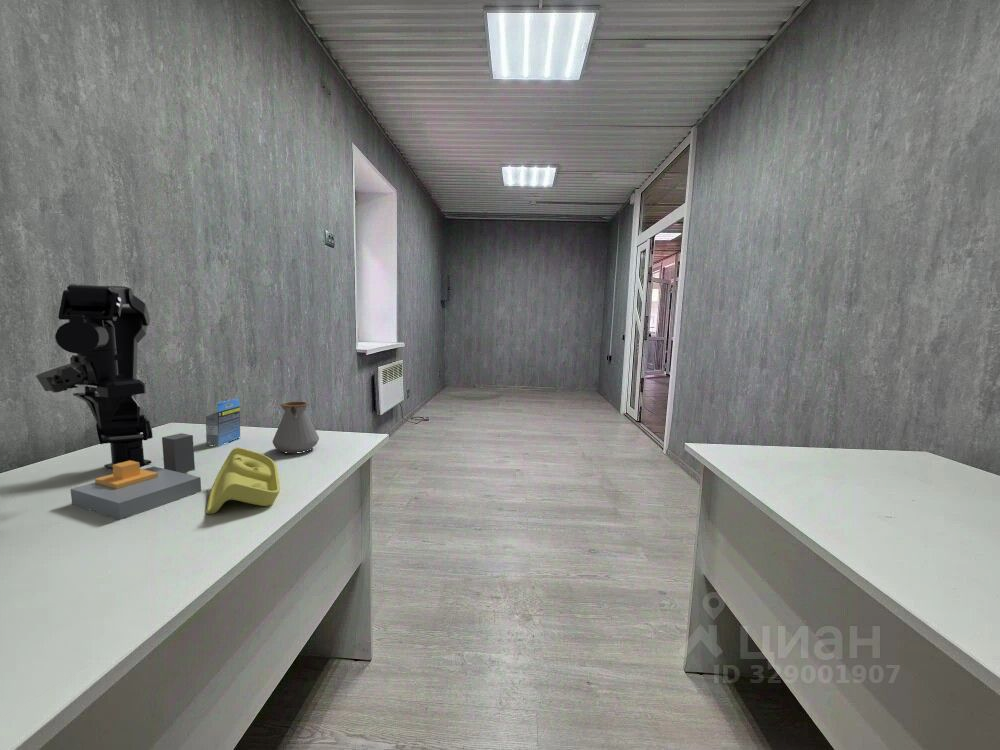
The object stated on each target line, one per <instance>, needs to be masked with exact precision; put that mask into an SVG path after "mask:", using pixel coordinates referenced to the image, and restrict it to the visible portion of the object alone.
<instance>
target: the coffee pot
mask: <svg viewBox="0 0 1000 750" xmlns="http://www.w3.org/2000/svg"><path fill="white" fill-rule="evenodd" d="M308 405H309V403H308V402H307V401H290V402H288V401H287V402H284V403H282V404H280V407H281V408H282V409H283V410H284V413H283V415H282V418H281V420H280V422H279V425H278V427H277V429H276V432H275V434H274V437H273V439H272V445H273V446H274V448H276V449H277V450H278V451H280V452H281V451H282V452H287V453H297V452H303V451H307V450H310V449H311V448H312V449H313V448H314V447H315V446H316V445H317V444H318V442H319V439H320V435H319V434H318V432H317V430H316V429H315V427H314V424H313V422H312V420H311V418H310V417H309V414H308V413H307V406H308ZM312 449H311V450H312ZM311 450H310V451H311ZM282 452H281V453H282Z"/></svg>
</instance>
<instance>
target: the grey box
mask: <svg viewBox="0 0 1000 750" xmlns="http://www.w3.org/2000/svg"><path fill="white" fill-rule="evenodd" d="M161 443H162V455H163V456H162V459H163V469H167V470H171V471H176V472H180V473H184V474H188V472H191V471H194V470H196V465H195V464H196V463H195V452H194V451H195V447H194V435H193V434H189V433H182V432H180V433H175V434H172V435H171V434H170V435H166V436H162V437H161Z"/></svg>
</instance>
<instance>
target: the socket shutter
mask: <svg viewBox="0 0 1000 750" xmlns="http://www.w3.org/2000/svg"><path fill="white" fill-rule="evenodd" d="M112 466H113V469H112V473H111V474H108V475H104V476H100V477H96V478H94V482H95V483H98V484H102V485H105V486H109V487H112V488H116V489H118V488H121V487H125V486H128V485H132V484H135V483H138V482H142V481H145V480H149V479H152V478H156V477H158V473H156V472H152V471H147V470H143V469H144V468H141V466H140V463H139V462H135V461H131V460H130V461H126V462H122V463H118V464H114V465H112Z"/></svg>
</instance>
